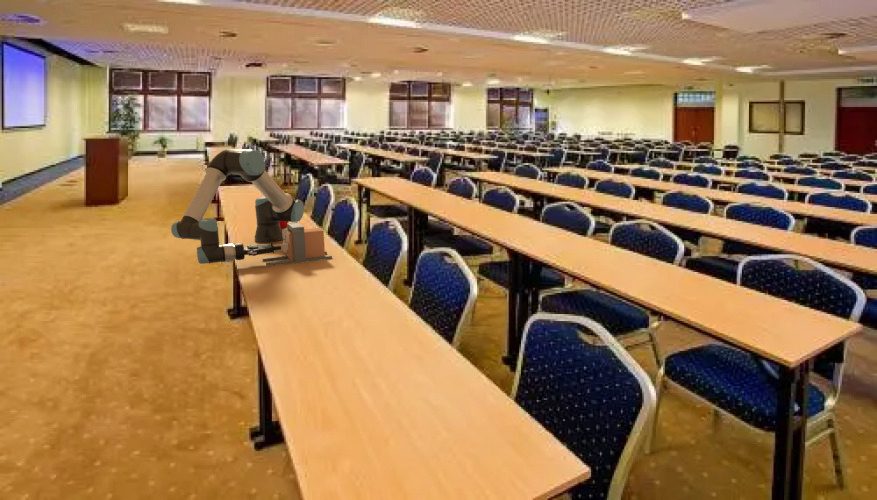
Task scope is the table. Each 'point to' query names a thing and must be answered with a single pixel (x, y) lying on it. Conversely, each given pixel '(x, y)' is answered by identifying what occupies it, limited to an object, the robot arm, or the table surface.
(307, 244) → the brick
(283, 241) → the ink cartridge box
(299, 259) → the grey stand
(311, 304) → the table surface
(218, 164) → the robot arm
